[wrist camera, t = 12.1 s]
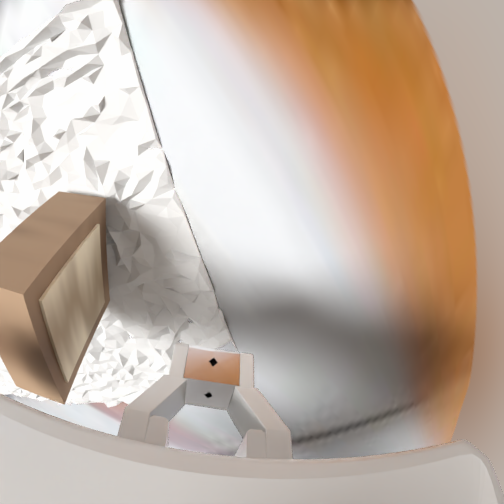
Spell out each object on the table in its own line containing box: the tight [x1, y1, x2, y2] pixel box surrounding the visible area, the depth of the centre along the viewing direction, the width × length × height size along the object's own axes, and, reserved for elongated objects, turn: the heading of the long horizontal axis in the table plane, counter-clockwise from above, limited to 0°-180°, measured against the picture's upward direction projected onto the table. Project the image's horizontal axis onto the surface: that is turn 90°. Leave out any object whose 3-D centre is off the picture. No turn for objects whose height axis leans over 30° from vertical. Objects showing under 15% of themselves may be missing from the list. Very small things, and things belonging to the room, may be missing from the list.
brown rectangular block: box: [0, 191, 110, 404], centre depth 13 cm, size 7×3×8 cm, turn 168°
